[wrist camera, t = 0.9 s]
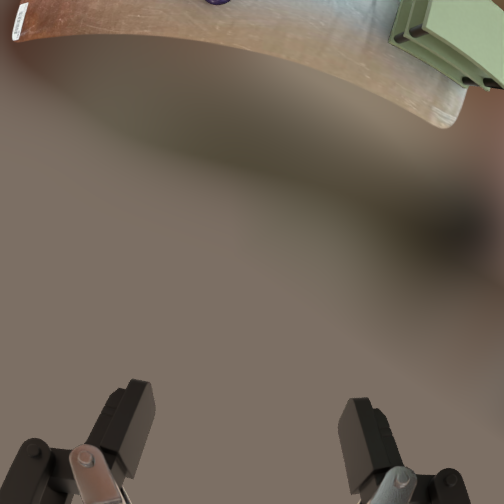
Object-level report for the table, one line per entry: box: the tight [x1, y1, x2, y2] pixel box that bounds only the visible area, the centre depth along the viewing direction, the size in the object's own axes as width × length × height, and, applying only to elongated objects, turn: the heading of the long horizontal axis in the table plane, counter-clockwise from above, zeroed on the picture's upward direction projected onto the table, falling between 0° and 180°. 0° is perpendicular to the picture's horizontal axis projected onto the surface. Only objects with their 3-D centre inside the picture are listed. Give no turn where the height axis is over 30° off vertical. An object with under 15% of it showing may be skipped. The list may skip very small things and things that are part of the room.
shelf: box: [388, 0, 504, 91], centre depth 18 cm, size 12×9×11 cm
